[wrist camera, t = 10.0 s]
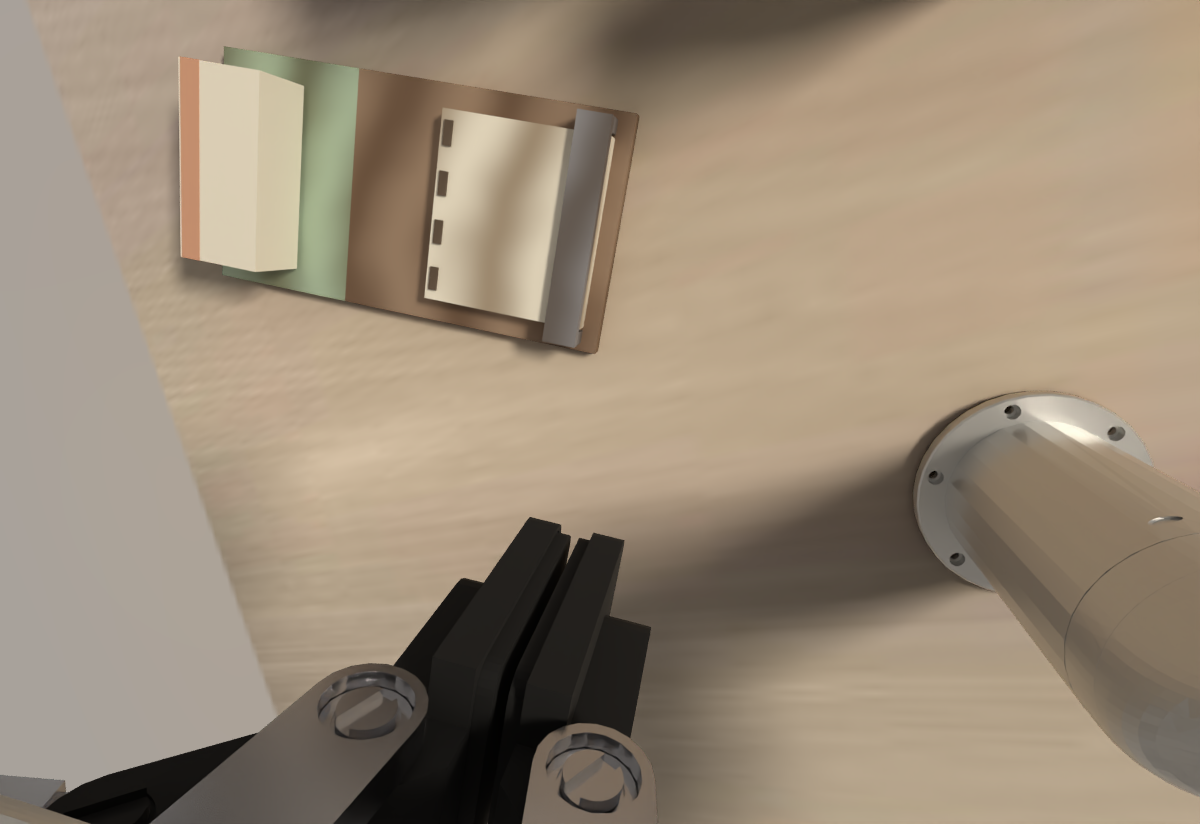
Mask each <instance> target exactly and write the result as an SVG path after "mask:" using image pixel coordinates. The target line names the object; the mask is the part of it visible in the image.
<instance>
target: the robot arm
mask: <svg viewBox="0 0 1200 824" xmlns="http://www.w3.org/2000/svg"><path fill="white" fill-rule="evenodd" d="M1008 406H1011V409H1010V410H1009V411H1008V412H1004V410H1005V409H1006V408H1007V407H1008ZM1110 428H1112V429H1111V431H1110V432H1108V431H1109V429H1110ZM933 471H935V474H934V475H933V476H928V475H929V474H930V473H931V472H933ZM913 501H914V512H915V516H916V520H917V523H918V527H919V529H920V531H921V533H922V535H923V537H924V539H925V541H926V543H927V544H928V546H929V547H930V548H931V550H932V551H933V552H934V554H935V555H936V557H937V558H938V559H939V560H940V561H941V562H942V563H943V564H944V565H945V566H946V567H947V568H948V569H949V570H951V571H952V572H954V573H955V574H957V575H958V576H960V577H961V578H963V579H964V580H966V581H968V582H970V583H973V584H975V585H977V586H980V587H982V588H984V589H988V590H992V591H996V592H997V594H998V595H999V596H1000V598H1001V599H1002V600H1003V601H1004V603H1005V604H1006V605H1007V607H1008V608H1009V609H1010V611H1011V612H1012V613H1013V615H1014V616H1015V617H1016V619H1017V620H1018V621H1019V623H1020V624H1021V625H1022V627H1023V628H1024V629H1025V631H1026V632H1027V633H1028V634H1029V636H1030V637H1031V638H1032V640H1033V641H1034V642H1035V644H1036V645H1037V646H1038V648H1039V649H1040V650H1041V652H1042V653H1043V654H1044V656H1045V657H1046V658H1047V660H1048V661H1049V662H1050V663H1051V665H1052V666H1053V667H1054V669H1055V670H1056V671H1057V673H1058V674H1059V675H1060V677H1061V678H1062V679H1063V681H1064V682H1065V683H1066V685H1067V686H1068V687H1069V689H1070V690H1071V691H1072V692H1073V694H1074V695H1075V696H1076V698H1077V699H1078V700H1079V702H1080V703H1081V704H1082V706H1083V707H1084V708H1085V709H1086V710H1087V712H1088V713H1089V714H1090V715H1091V717H1092V718H1093V719H1094V721H1095V722H1096V723H1097V725H1098V726H1099V727H1100V728H1101V729H1102V731H1103V732H1104V733H1105V734H1106V735H1107V736H1108V737H1109V738H1110V739H1111V741H1112V742H1113V743H1114V744H1115V745H1116V746H1118V747H1119V748H1120V749H1121V750H1122V751H1123V752H1124V753H1125V754H1127V755H1128V756H1129V757H1130V758H1131V759H1132V760H1134V761H1135V762H1136V763H1138V764H1139V765H1140V766H1142V767H1143V768H1145V769H1146V770H1148V771H1150V772H1151V773H1153V774H1154V775H1156V776H1158V777H1159V778H1161V779H1162V780H1164V781H1166V782H1167V783H1169V784H1171V785H1173V786H1175V787H1177V788H1179V789H1181V790H1184V791H1186V792H1188V793H1191V794H1193V795H1195V796H1198V797H1200V492H1198V491H1196V490H1194V489H1192V488H1190V487H1189V486H1187V485H1185V484H1183V483H1181V482H1179V481H1178V480H1176V479H1174V478H1172V477H1170V476H1168V475H1167V474H1165V473H1163V472H1161V471H1159V470H1157V469H1155V468H1154V464H1153V460H1152V458H1151V456H1150V454H1149V452H1148V449H1147V447H1146V445H1145V443H1144V442H1143V440H1142V439H1141V438H1140V437H1139V435H1138V434H1137V433H1136V431H1135V430H1134V429H1133V428H1132V426H1130V425H1129V424H1128V423H1127V422H1125V421H1124V420H1123V419H1122V418H1121V417H1119V416H1118V415H1117V414H1116V413H1114V412H1112V411H1110V410H1108V409H1106V408H1104V407H1103V406H1101V405H1099V404H1097V403H1094V402H1092V401H1089V400H1087V399H1084V398H1082V397H1079V396H1076V395H1071V394H1066V393H1061V392H1056V391H1027V392H1020V393H1013V394H1007V395H1004V396H1001V397H998V398H995V399H991V400H988V401H986V402H984V403H982V404H980V405H978V406H976V407H974V408H972V409H970V410H968V411H966V412H965V413H963V414H962V415H961V416H959V417H958V418H956V419H955V420H954V421H952V422H951V423H950V424H948V426H947V427H946V428H945V429H944V430H943V431H942V432H941V433H940V434H939V435H938V436H937V437H936V438H935V439H934V441H933V442H932V444H931V445H930V447H929V448H928V450H927V451H926V453H925V454H924V456H923V458H922V461H921V463H920V466H919V468H918V471H917V473H916V478H915V484H914V490H913ZM570 540H571V536H570V535H566V534H562V533H561V525H560V524H556V523H552V522H548V521H544V520H540V519H536V518H532V517H530V518H529V519H528V520H527V521H526V523H525V524H524V526H523V527H522V528H521V530H520V531H519V533H518V534H517V536H516V537H515V539H514V540H513V541H512V543H511V544H510V546H509V547H508V549H507V550H506V552H505V553H504V554H503V556H502V557H501V559H500V560H499V562H498V563H497V564H496V566H495V567H494V569H493V570H492V572H491V573H490V575H489V576H488V577H487V579H486V580H485V582H484V583H482V582H478V581H474V580H470V579H467V578H463V579H461V580H460V581H459V582H458V583H457V584H456V585H455V586H454V588H453V589H452V590H451V592H450V593H449V594H448V595H447V597H446V598H445V599H444V601H443V602H442V603H441V605H440V606H439V607H438V608H437V610H436V611H435V612H434V614H433V615H432V616H431V618H430V619H429V620H428V621H427V623H426V624H425V625H424V627H423V628H422V629H421V631H420V632H419V633H418V634H417V636H416V637H415V638H414V640H413V641H412V642H411V643H410V645H409V646H408V647H407V649H406V650H405V651H404V653H403V654H402V655H401V656H400V658H399V659H398V660H397V662H396V663H395V664H394V666H392V665H388V664H373V663H368V664H361V665H355V666H350V667H347V668H344V669H342V670H339V671H336V672H334V673H332V674H331V675H329V676H327V677H326V678H324V679H323V680H321V681H320V682H318V683H317V684H316V685H315V686H314V687H312V688H311V689H310V690H309V691H308V692H306V693H305V694H304V695H303V696H302V697H300V698H299V699H298V700H297V701H296V702H294V703H293V704H292V705H291V706H290V707H288V708H287V709H286V710H285V711H284V712H282V713H281V714H280V715H279V716H278V717H276V718H275V719H274V720H273V721H272V722H271V723H269V724H268V725H267V726H266V727H265V728H263V729H262V730H261V731H260V732H259V733H255V734H252V735H248V736H244V737H241V738H237V739H234V740H231V741H227V742H223V743H219V744H216V745H212V746H209V747H206V748H202V749H198V750H195V751H191V752H187V753H184V754H180V755H177V756H173V757H170V758H166V759H162V760H159V761H155V762H152V763H148V764H145V765H141V766H138V767H134V768H130V769H127V770H123V771H120V772H116V773H113V774H109V775H106V776H103V777H101V778H98V779H95V780H93V781H91V782H88V783H85V784H83V785H81V786H79V787H77V788H75V789H74V790H72V791H70V792H66V787H65V780H54V779H41V778H29V777H17V776H5V775H0V824H487V822H488V824H658V820H657V801H656V783H655V777H654V773H653V768H652V765H651V763H650V761H649V760H648V758H647V756H646V755H645V753H644V751H643V750H642V749H641V748H640V747H639V746H638V745H637V744H636V743H635V742H634V741H632V740H631V739H630V736H631V731H632V726H633V721H634V715H635V710H636V705H637V699H638V694H639V689H640V684H641V678H642V673H643V668H644V662H645V657H646V652H647V647H648V641H649V636H650V630H651V627H649V626H645V625H641V624H637V623H633V622H630V621H626V620H622V619H618V618H614V617H611V616H609V615H610V610H611V605H612V600H613V596H614V591H615V586H616V581H617V576H618V572H619V567H620V562H621V557H622V552H623V547H624V540H621V539H617V538H613V537H609V536H604V535H600V534H596V533H593V535H592V537H591V539H590V540H586V539H582V538H579V540H578V542H577V544H576V546H575V548H574V550H573V552H572V554H571V556H570V558H569V560H568V563H567V558H568V552H569V547H570ZM954 553H956V554H955V555H954V556H951V555H952V554H954ZM566 563H567V565H566Z"/></svg>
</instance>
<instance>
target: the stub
mask: <svg viewBox="0 0 1200 824" xmlns="http://www.w3.org/2000/svg"><path fill="white" fill-rule="evenodd" d="M178 60H179V150H180V239H181V257H184V258H189V259H194V260H199V261H205V262H210V263H215V264H220V265H224V266H229V267H234V268H239V269H243V270H248V271H253V272H261V271H274V270H287V269H297V253H298V228H299V203H300V177H301V152H302V127H303V101H304V86H303V85H300V84H297V83H294V82H291V81H289V80H286V79H283V78H280V77H277V76H274V75H272V74H269V73H266V72H263V71H260V70H255V69H249V68H243V67H237V66H231V65H225V64H219V63H213V62H207V61H201V60H198V59H192V58H186V57H178Z"/></svg>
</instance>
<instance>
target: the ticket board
mask: <svg viewBox="0 0 1200 824" xmlns="http://www.w3.org/2000/svg"><path fill="white" fill-rule="evenodd" d="M224 64H225V65H231V66H237V67H243V68H249V69H255V70H260V71H263V72H266V73H269V74H272V75H274V76H277V77H280V78H283V79H286V80H289V81H291V82H294V83H297V84H300V85H303V86H304V101H303V127H302V152H301V177H300V203H299V228H298V253H297V269H287V270H274V271H261V272H253V271H248V270H243V269H239V268H234V267H229V266H224V265H222V275H225V276H230V277H234V278H239V279H244V280H249V281H253V282H258V283H263V284H267V285H272V286H277V287H282V288H286V289H291V290H296V291H300V292H305V293H310V294H315V295H319V296H324V297H329V298H333V299H338V300H343V301H348V302H352V303H357V304H362V305H366V306H371V307H376V308H381V309H385V310H390V311H395V312H399V313H404V314H409V315H414V316H418V317H423V318H428V319H432V320H437V321H442V322H447V323H451V324H456V325H461V326H465V327H470V328H475V329H480V330H484V331H489V332H494V333H498V334H503V335H508V336H513V337H517V338H522V339H527V340H531V341H536V342H541V343H546V344H550V345H555V346H560V347H564V348H569V349H574V350H579V351H583V352H588V353H593V354H595V353H596V352H597V351H598V347H599V341H600V336H601V330H602V325H603V319H604V313H605V308H606V302H607V296H608V291H609V285H610V279H611V274H612V268H613V263H614V257H615V251H616V246H617V240H618V234H619V229H620V223H621V217H622V212H623V206H624V201H625V195H626V189H627V184H628V178H629V172H630V167H631V161H632V155H633V150H634V144H635V139H636V133H637V127H638V122H639V115H638V114H637V113H631V112H624V111H618V110H612V109H606V108H600V107H594V106H588V105H581V104H575V103H569V102H563V101H557V100H551V99H545V98H538V97H532V96H526V95H520V94H514V93H508V92H502V91H495V90H489V89H483V88H477V87H471V86H465V85H459V84H452V83H446V82H440V81H434V80H428V79H422V78H416V77H409V76H403V75H397V74H391V73H385V72H379V71H373V70H366V69H360V68H354V67H348V66H342V65H336V64H330V63H323V62H317V61H311V60H305V59H299V58H293V57H286V56H280V55H274V54H268V53H262V52H256V51H250V50H243V49H237V48H231V47H225V46H224Z"/></svg>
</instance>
